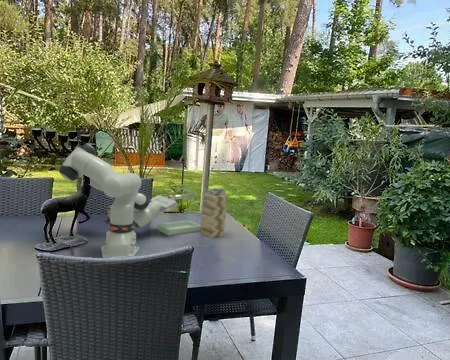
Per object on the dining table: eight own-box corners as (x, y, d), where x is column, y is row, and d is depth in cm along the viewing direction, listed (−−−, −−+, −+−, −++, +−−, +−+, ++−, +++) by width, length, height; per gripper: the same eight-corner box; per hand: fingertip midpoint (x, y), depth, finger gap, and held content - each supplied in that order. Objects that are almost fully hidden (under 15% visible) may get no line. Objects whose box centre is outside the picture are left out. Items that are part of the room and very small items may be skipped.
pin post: (211, 237, 220) (214, 190, 216) (201, 233, 227) (204, 187, 223) (223, 235, 226) (227, 189, 222) (213, 231, 234) (217, 186, 230)
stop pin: (170, 200, 220) (170, 195, 220) (168, 199, 222) (168, 195, 222) (194, 197, 232) (194, 194, 231) (192, 197, 234) (192, 193, 233)
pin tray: (168, 236, 217) (168, 230, 216) (156, 229, 227) (156, 224, 227) (201, 231, 232) (201, 225, 232) (188, 225, 243) (189, 220, 242)
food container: (125, 224, 233) (125, 209, 232) (116, 225, 229) (117, 210, 227) (114, 220, 241) (115, 205, 240) (106, 221, 237) (106, 206, 236)
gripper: (163, 207, 207) (181, 194, 214) (145, 200, 222) (163, 188, 229) (167, 216, 210) (185, 203, 217) (150, 209, 225) (167, 197, 232)
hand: (174, 195), depth 223 cm, fingers closed on stop pin, 2 cm apart
